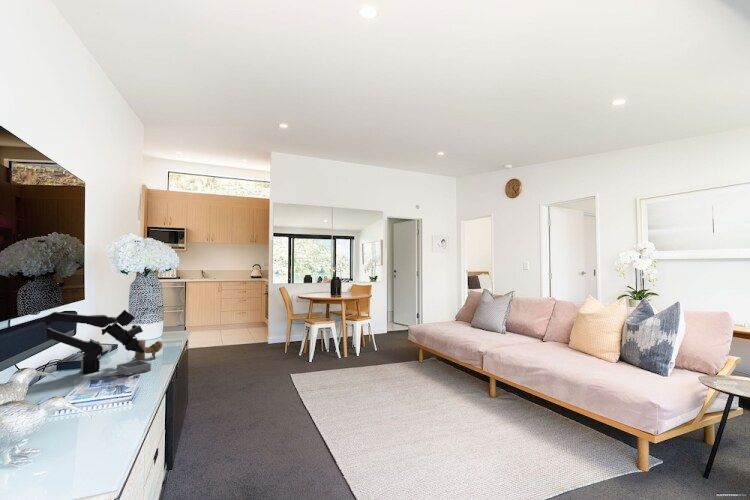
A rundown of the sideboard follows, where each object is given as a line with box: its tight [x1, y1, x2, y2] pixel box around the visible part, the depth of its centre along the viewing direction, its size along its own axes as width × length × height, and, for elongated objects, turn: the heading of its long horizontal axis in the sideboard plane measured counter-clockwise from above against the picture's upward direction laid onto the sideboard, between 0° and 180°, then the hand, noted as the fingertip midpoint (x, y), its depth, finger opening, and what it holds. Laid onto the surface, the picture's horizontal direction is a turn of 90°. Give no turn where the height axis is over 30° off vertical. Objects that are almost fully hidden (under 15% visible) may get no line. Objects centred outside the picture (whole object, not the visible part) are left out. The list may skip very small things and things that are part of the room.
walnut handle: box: [134, 339, 146, 362], centre depth 190 cm, size 5×5×12 cm
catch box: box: [116, 360, 152, 375], centre depth 178 cm, size 11×11×4 cm
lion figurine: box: [132, 340, 164, 360], centre depth 202 cm, size 15×5×9 cm, turn 131°
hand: (143, 351), depth 191 cm, fingers closed on walnut handle, 4 cm apart
